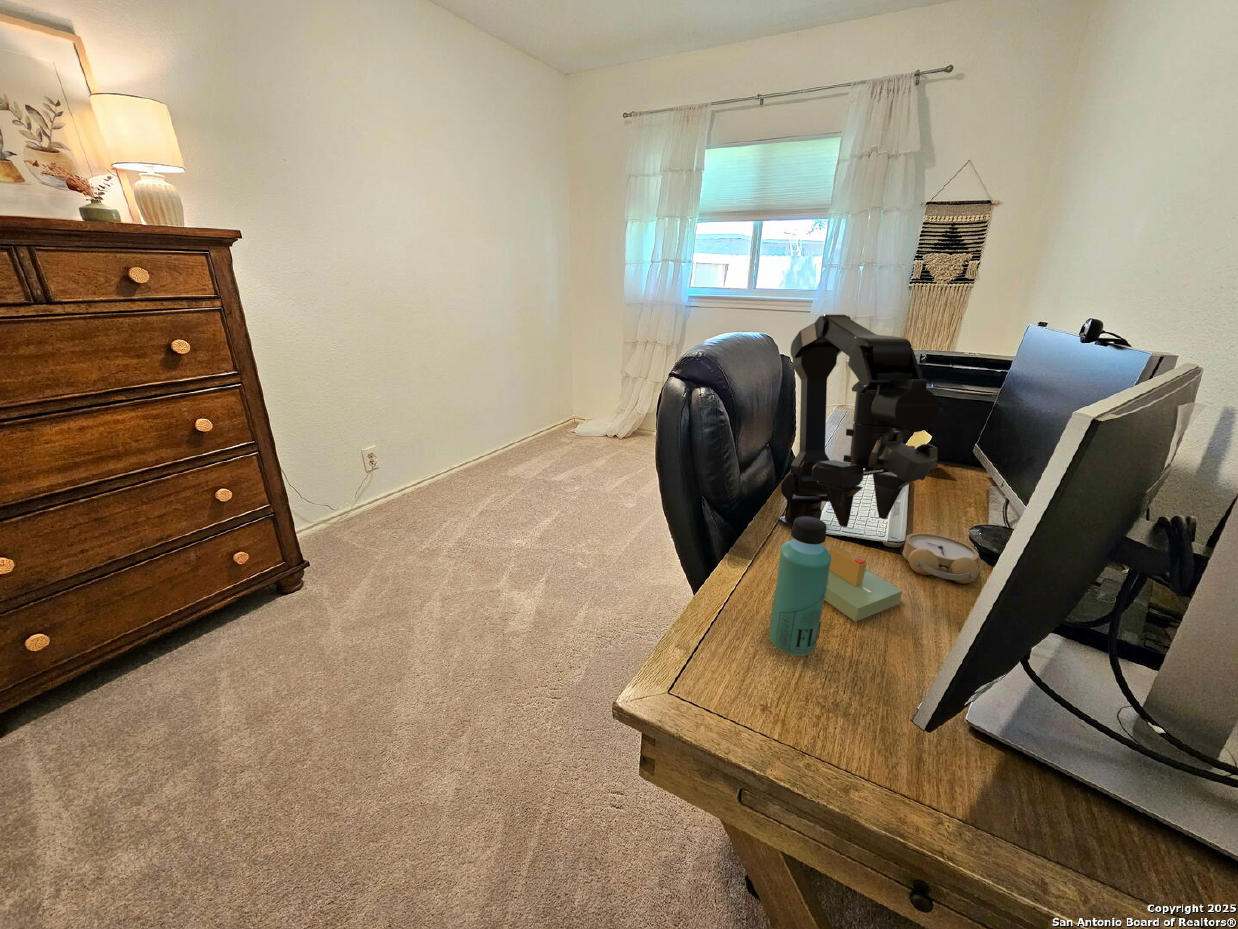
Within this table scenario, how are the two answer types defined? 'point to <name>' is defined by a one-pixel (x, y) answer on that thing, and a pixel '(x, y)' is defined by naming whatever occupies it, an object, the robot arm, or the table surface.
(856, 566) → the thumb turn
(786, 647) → the beverage bottle
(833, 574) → the plate
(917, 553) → the alarm clock
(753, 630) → the table surface
